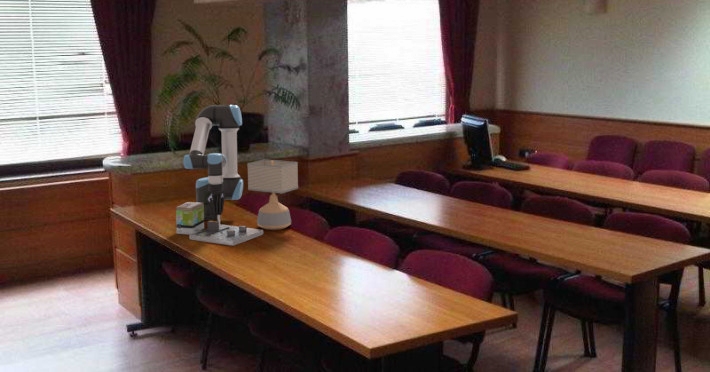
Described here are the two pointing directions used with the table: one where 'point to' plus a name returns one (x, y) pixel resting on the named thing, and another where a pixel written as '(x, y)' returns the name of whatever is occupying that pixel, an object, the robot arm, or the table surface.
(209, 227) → the cap
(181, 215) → the tea box
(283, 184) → the desk lamp
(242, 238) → the console
